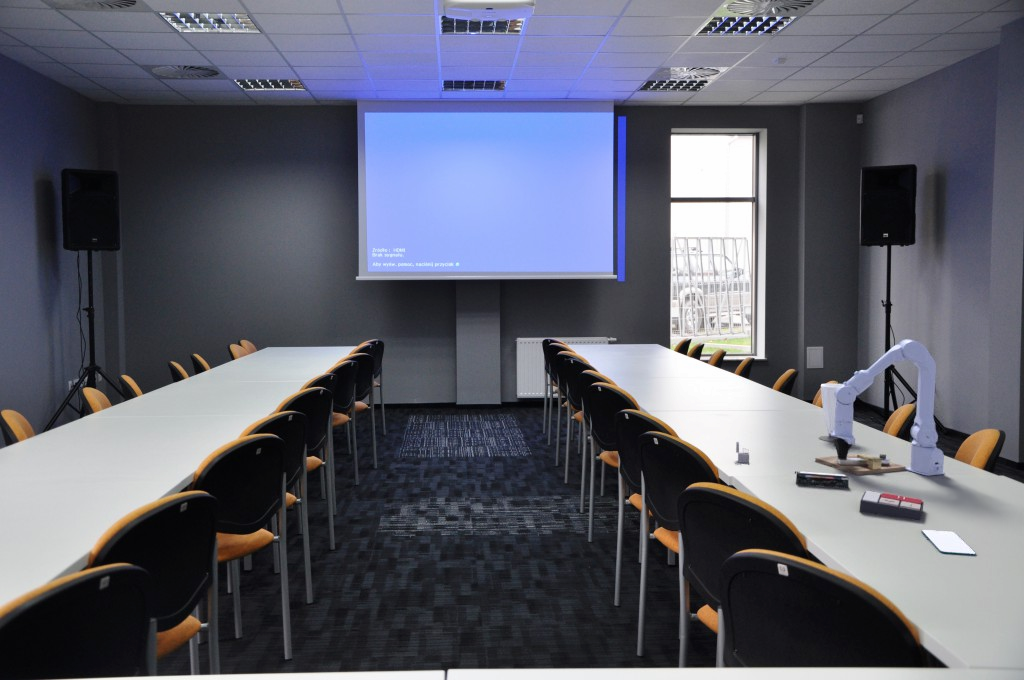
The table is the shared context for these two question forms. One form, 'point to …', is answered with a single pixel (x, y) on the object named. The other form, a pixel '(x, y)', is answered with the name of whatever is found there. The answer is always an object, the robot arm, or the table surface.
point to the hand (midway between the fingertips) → (842, 460)
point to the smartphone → (948, 542)
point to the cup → (829, 408)
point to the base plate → (859, 468)
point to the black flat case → (822, 479)
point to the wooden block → (871, 461)
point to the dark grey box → (891, 505)
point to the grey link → (859, 461)
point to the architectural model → (742, 455)
